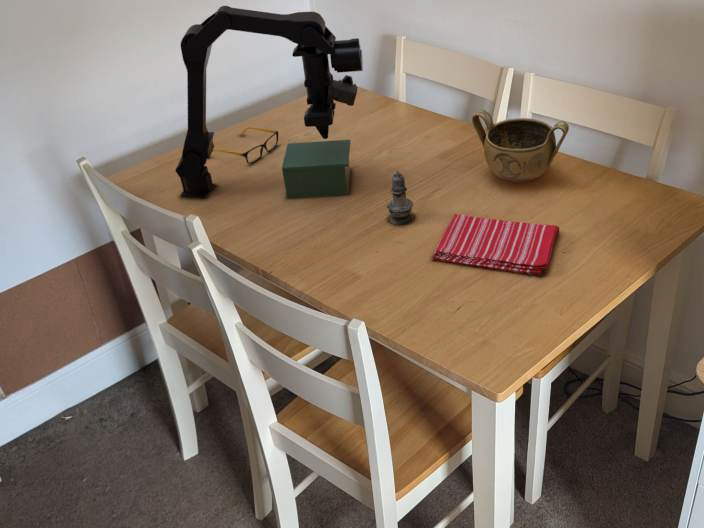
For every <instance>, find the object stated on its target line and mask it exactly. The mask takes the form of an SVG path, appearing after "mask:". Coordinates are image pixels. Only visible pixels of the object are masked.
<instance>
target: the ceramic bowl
mask: <svg viewBox="0 0 704 528" xmlns="http://www.w3.org/2000/svg"><path fill="white" fill-rule="evenodd" d="M480 119H482V120H483V121H484V123H485V126H486V131H485V129H484V126H483V124H482V122H481V120H480ZM471 122H472V125H473V128H474V130H475V132H476V134H477V137H478V138H479V141H480V142H481V144H482V148H483V154H484V159H485V162H486V165H487V166H488V168H489V170H490V172H491V173H492V174H494V175H495V176H496V177H498V178H499V179H501V180H504V181H506V182H510V183H511V182H512V183H525V182H529V181H532V180H535V179H537V178H539V177H540V176H542V175H543V174H544V173H545V172H547V170H548V168H550V167H551V164H552V163H553V161H554V158H555V157H556V155H557V154H558V152H559V149H560V147H561V145H562V144H563V142H564V140H565V138H566V136H567V134H568V133H569V129H570V127H569V124H568V123H567V122H566V121H564V120H560V121H557V122H556V123H555V124H554V125H553V127H552V126H551V125H550V124H549V123H547V122H545V121H543V120H539V119H535V118H531V117H528V118H527V117H516V118H508V119H505V120H501V121H497V122H496V123H494V119H493V117H492V115H491V114H490V113H489V111H488V110H486V109H483V108H480V109H477V110H476V112H475V113H474V114H473V115H472V119H471ZM556 130H560V131H562V136H560V138H559V140H558V142H557V140H556V139H557V138H556V135H555V131H556Z"/></svg>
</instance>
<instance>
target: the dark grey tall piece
mask: <svg viewBox="0 0 704 528" xmlns="http://www.w3.org/2000/svg"><path fill="white" fill-rule="evenodd" d="M405 180H406V179H405V176H404V174H402V173H400V171H399V170H396V171H395V173H394V174H393V175H392V176H391V188H390V192H391V193H392V195H391V196H392V198H391V200H389V201H388V202H387V204H386V208H387V209H388V212H389V213H390V216H389V218H388V221H389V222H390V223H391V224H393V225H397V226H401V225H403V226H404V225H407V224H409V223H411V222H412V221H413V219H414V217H413V215H412V214H411V212H412V211H413V210H412V209H413V207H414V202H413V200H411V199H409V198H407V191H408V188H407V187H406V181H405Z"/></svg>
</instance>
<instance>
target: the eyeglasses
mask: <svg viewBox="0 0 704 528" xmlns="http://www.w3.org/2000/svg"><path fill="white" fill-rule="evenodd" d="M247 130H256V131H262V132H265V133H270V134H272V135H271V136H270V137H269V136H268V138H267V139H266V140H265V141H264V142H263V143H262V144H259V145H256V146H254V147H253V148H251V149H249V150H247V151H245V152H239V151H232V150H225V149H219V148H213V151H212V153H213V152H217V151H218V152H221V153H225V154H231V155H236V156H239V157H244V159H245V161H246V163H247V164H249V165H250V164H251V165H252V164H255V163H256V162H257V161H259V160H261V158H262V156H263V151H264V149H265V151H266V152H267V153H271V152H272V151H273V150H275V148H276V147H277V145H278V143H279V131H278V130H274V129H267V128H260V127H253V126H248V127H245V128H244V129H243V131H242V132H241V133H240V136H244V134H245V133H246V131H247ZM274 136H276V138H275V139H276V142H275V145H274V146H273V148H271V149H269V150H268V147H267V143H268V141H269V140H271V139H272V138H273V137H274ZM259 147H260V149H259V157H258V158H257V159H255V160H254V161H250V162H249V158H248V155H249V153H250V152H251V151H253V150H255V149H257V148H259Z"/></svg>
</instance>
